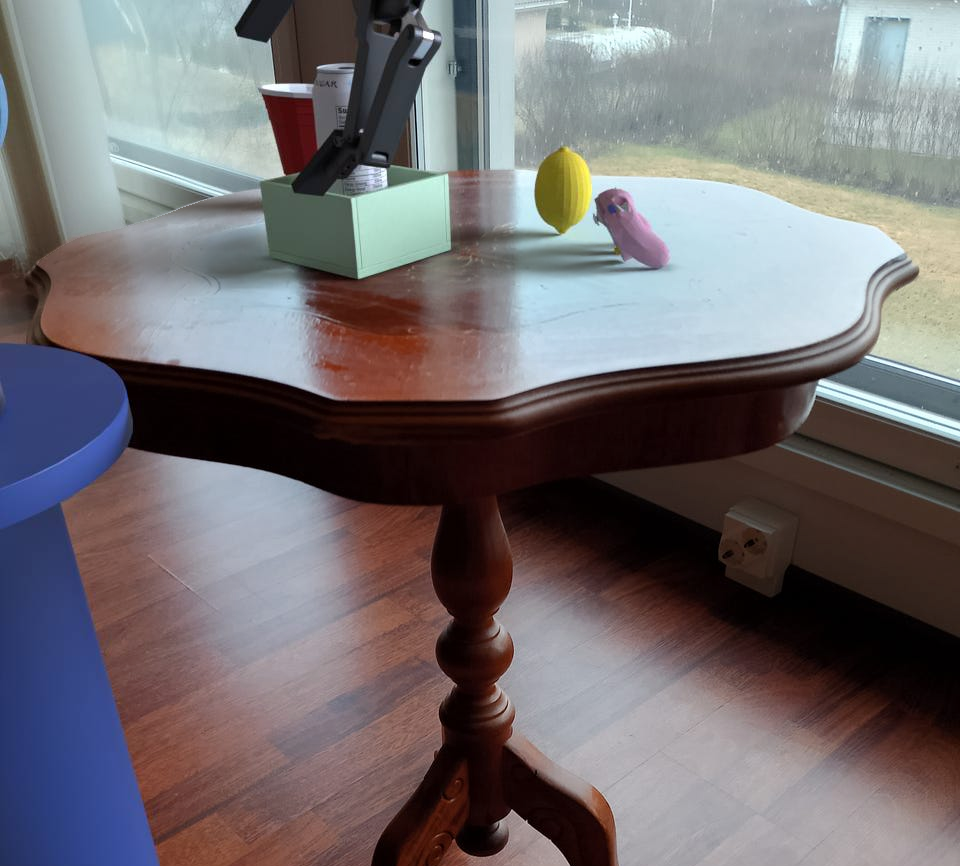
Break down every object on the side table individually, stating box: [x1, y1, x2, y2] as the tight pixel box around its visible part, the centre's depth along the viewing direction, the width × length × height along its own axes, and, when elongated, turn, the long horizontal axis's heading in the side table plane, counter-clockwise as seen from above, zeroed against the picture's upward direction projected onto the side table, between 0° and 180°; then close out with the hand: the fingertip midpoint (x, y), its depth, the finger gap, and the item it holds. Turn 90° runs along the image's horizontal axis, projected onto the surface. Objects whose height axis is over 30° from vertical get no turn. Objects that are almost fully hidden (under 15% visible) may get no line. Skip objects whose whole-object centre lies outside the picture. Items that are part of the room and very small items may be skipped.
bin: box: [259, 164, 452, 280], centre depth 100 cm, size 12×12×7 cm
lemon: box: [533, 146, 593, 235], centre depth 104 cm, size 6×6×8 cm
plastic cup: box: [257, 83, 318, 176], centre depth 116 cm, size 11×11×12 cm
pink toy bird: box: [592, 187, 671, 269], centre depth 97 cm, size 10×5×7 cm, turn 3°
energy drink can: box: [312, 62, 388, 197], centre depth 97 cm, size 6×6×15 cm
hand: (278, 112), depth 83 cm, fingers open, 13 cm apart
